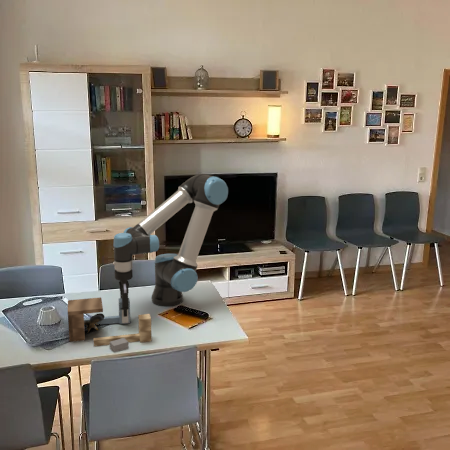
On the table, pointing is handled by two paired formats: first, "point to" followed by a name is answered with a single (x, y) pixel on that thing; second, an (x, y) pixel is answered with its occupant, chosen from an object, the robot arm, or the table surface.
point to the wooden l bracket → (81, 316)
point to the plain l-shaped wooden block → (142, 336)
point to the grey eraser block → (119, 345)
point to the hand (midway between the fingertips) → (124, 319)
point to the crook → (114, 318)
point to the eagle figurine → (94, 321)
